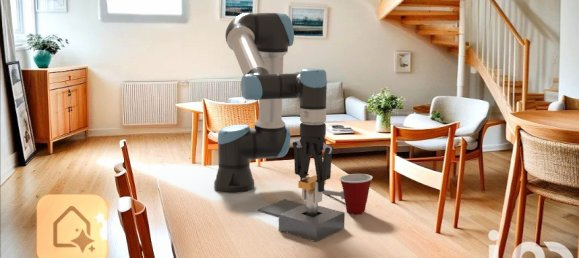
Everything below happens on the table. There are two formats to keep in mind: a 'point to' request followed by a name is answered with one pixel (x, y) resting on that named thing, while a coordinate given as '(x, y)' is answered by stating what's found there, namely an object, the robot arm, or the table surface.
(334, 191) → the caliper
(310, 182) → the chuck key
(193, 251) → the table surface
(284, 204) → the key mat
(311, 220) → the block
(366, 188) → the plastic cup
